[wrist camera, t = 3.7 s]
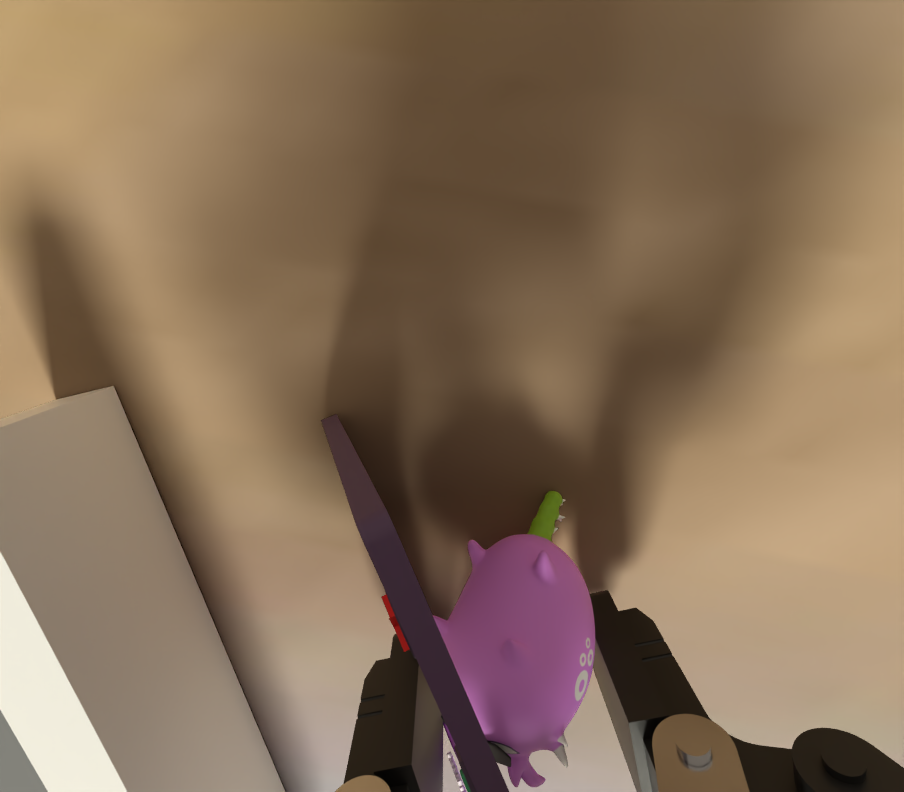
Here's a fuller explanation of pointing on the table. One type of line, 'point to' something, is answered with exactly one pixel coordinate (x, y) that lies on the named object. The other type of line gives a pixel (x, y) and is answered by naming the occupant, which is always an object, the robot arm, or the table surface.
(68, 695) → the low wall
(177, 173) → the table surface
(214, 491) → the table surface
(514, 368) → the table surface
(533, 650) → the purple framed toy figure
